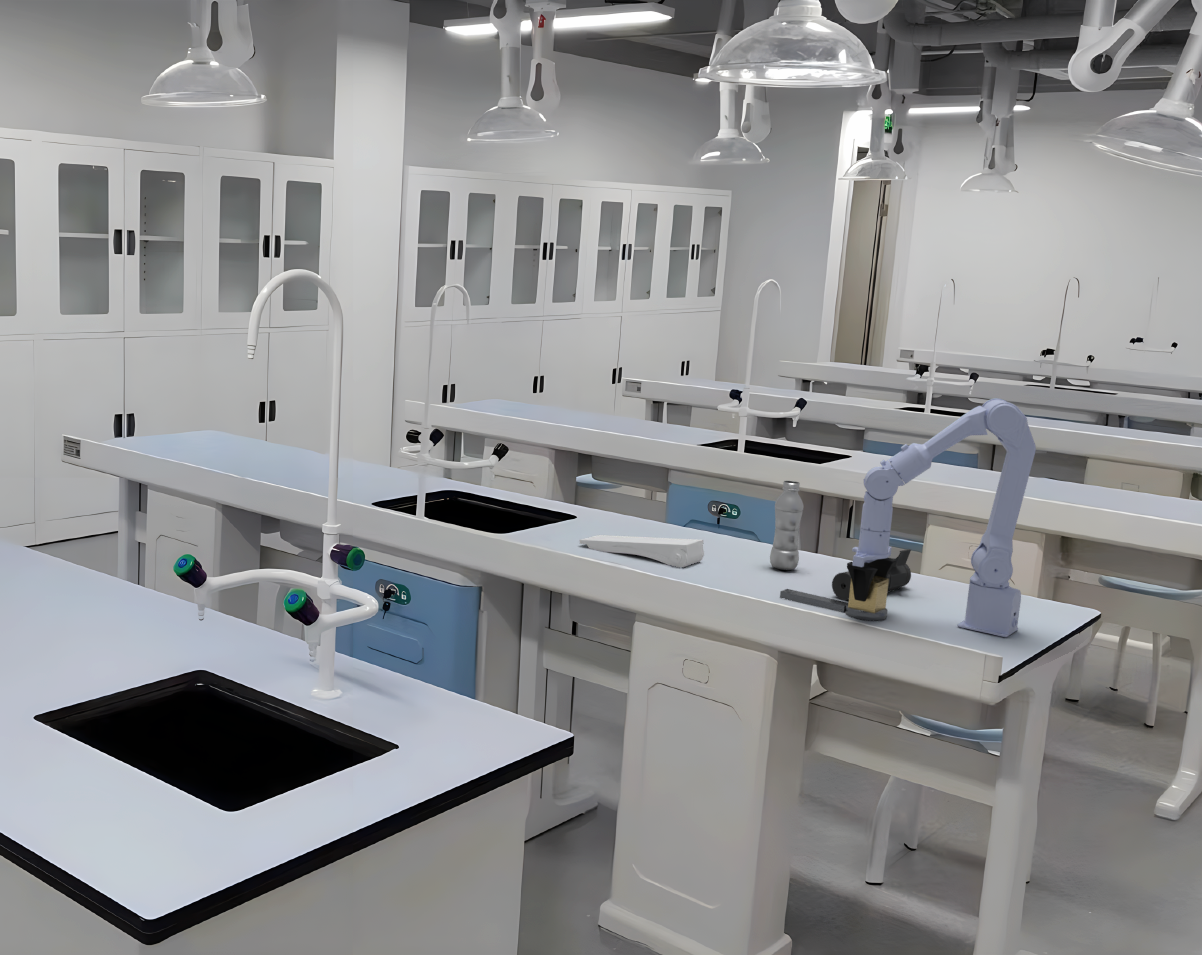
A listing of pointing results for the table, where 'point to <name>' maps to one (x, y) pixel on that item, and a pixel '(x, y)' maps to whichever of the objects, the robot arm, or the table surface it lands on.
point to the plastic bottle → (787, 527)
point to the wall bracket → (651, 548)
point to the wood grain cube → (871, 596)
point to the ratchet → (833, 605)
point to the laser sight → (896, 577)
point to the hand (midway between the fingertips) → (867, 596)
